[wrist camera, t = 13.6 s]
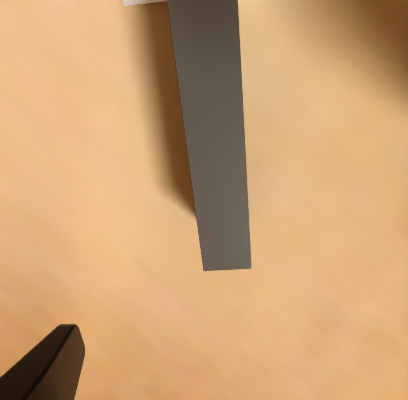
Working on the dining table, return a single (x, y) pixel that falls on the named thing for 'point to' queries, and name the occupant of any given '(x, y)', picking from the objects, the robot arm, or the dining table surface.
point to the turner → (213, 125)
